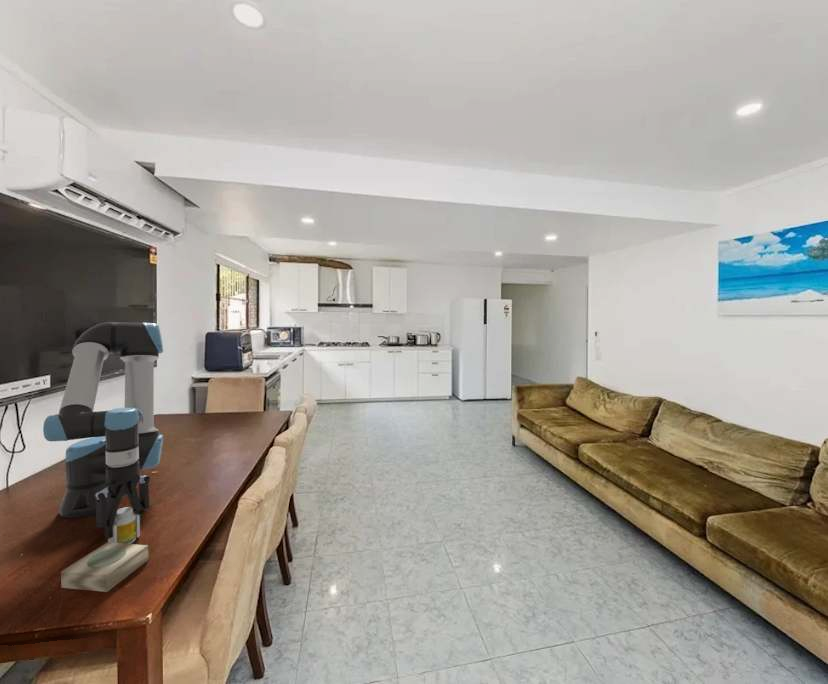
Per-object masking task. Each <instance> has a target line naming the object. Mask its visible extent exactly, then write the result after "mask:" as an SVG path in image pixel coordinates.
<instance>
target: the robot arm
mask: <svg viewBox="0 0 828 684" xmlns="http://www.w3.org/2000/svg"><path fill="white" fill-rule="evenodd" d="M162 339H163V338H162V334H161V330H160V326H159V325H158V323H154V322H145V321H143V322H139V321H137V322H135V321H134V322H130V321H128V322H127V321H125V322H124V321H123V322H119V321H118V322H115V321H107V322H106V321H105V322H102V323H99V324H96V325H94V326H91V327H90V328H89V329H87V330H86V331H84V332H83V333H81V335H80V336H79V337H78V338H77V339H76V340H75V342H74V344H73V347H72V351H71V352H72V353H71V354H72V356H73V357H74V358H73V361H72V366H71V368H70V372H69V376H68V379H67V382H66V385H65V386H66V387H65V390H64V392H63V393H64V394H63V397H62V399H61V404H60V407H59V411H58V413H56V414H53V415H52V414H51V415H48V416H47V417H46V418H45V420H44V422H43V427H42V428H43V430H42V431H43V432H42V433H43V437H44V439H45V441H48V442H68V441H73V440H79V441H77V442H75V443H72V444H71V445H69V446H68V447H67V448H66V449H65V459H64V463H65V492H64V495H63V498H62V500H61V503H60V505H59V508H58V509H59V510H58V511H59V516H60V517H62V518H64V519H65V518H66V519H75V518H84V517H89V516H92V515H93V516H94V515H95V526H96V527H97V528H100V529H104V537H105V539H107V542H111V543H117V525H115V524H114V521H115V518H116V514H117V510H119V505H120V502H121V501H122V499H123V497H125V495H127V497H128V500H129V503H130V505H131V506H130V507H132V508H133V513H132V514H134V515H135V516H136V538H139V537H141V524H142V523H143V515H144V514H145V511H146V510H148V509H149V508H150V496H149V495H150V494H149V483H150V480H151V479H150V478H151V477H150V475H145V474H142V475H140V474H139V473H140V471H144V470H147V469H153V468H156V467H157V466H159V463H160V460H161V457H162V450H163V442H164V441H163V440H164V435H163V434H159V429H158V428H157V427H155V424H154V420H155V419H154V418H155V417H154V415H155V414H154V413H155V412H154V411H155V410H154V406H155V405H154V402H155V401H154V396H155V395H154V390H155V389H154V388H155V387H154V386H155V382H154V381H155V380H154V379H155V378H154V377H155V376H154V369H155V367H154V365H155V364H154V363H155V361H157V360H158V359H159V357H160V356H159V354H163V352H164V347H163V346H164V345H163V340H162ZM112 354H113V355H117V354H119V359H120V360H121V361H123V362H124V407H118V408H113V409H110V410H100V411H94V407H95V404H96V399H97V395H98V389H99V385H100V384H99V383H100V381H101V375H102V370H103V366H104V361H106V360H107V359H108V357H109V356H110V355H112ZM81 439H82V440H81ZM137 485H138V489H137Z"/></svg>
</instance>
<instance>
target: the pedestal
mask: <svg viewBox="0 0 828 684" xmlns="http://www.w3.org/2000/svg"><path fill="white" fill-rule="evenodd" d="M148 561H149V545H148V544H137V543H136V544H135V543H131V544H124V543H111V542H108V541H107V542H106V543H104V544H102V545H101V546H99V547H98V548H96V549H94V550H93V551H91V552H89V553H88V554H87V555H85V556H83V557H82V558H80V559H78V560H77V561H75V562H74V563H72V564H71V565H68V566H67V567H66V568H64V569H63V570H61V571H60V583H61V585H60V586H61V589H62V588H63V589H71V590H72V589H73V590H83V591H94V592H101V593H102V592H103V593H107V592H109V591H111V589H113V588H115V587H116V585H118V584H120V583H121V582H122V581H123V580H125V579H126V578H127V577H129V575H131V574H132V573H134V572H135V571H136V570H137V569H139V568H140V567H142V565H144V564H145V563H147V562H148Z"/></svg>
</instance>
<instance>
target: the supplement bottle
mask: <svg viewBox="0 0 828 684" xmlns="http://www.w3.org/2000/svg"><path fill="white" fill-rule="evenodd" d="M133 513H134V511H133V508H132V506H126V507H122V508H118V510H117V514H116V518H115V521H114V524H115V525H117V543H124V544H134V542H135V541H136V539H137V537H136V516H135V515H134V514H133Z"/></svg>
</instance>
